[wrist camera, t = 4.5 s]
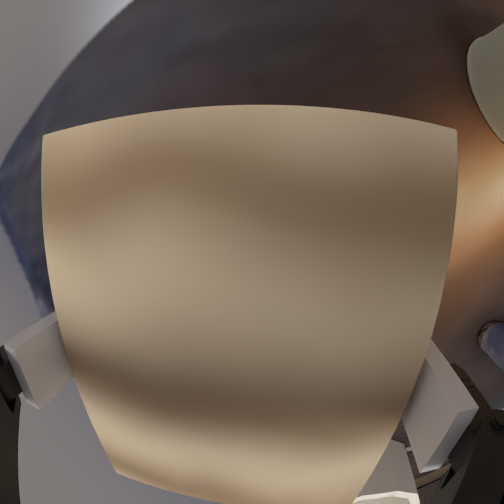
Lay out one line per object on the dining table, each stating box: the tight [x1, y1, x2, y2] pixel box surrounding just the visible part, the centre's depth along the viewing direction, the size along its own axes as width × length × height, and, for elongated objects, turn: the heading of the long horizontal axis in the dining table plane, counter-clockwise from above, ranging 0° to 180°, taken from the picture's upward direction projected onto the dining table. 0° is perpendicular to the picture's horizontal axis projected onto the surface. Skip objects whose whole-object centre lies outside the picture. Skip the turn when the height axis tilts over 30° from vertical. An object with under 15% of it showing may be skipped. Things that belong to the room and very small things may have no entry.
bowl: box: [352, 439, 420, 504], centre depth 17 cm, size 10×10×6 cm
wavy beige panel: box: [41, 105, 458, 504], centre depth 9 cm, size 16×12×2 cm
